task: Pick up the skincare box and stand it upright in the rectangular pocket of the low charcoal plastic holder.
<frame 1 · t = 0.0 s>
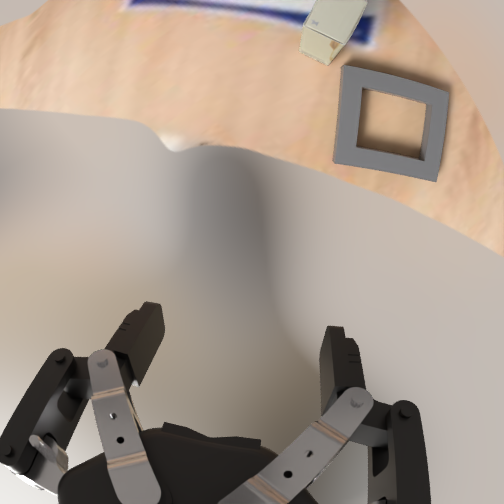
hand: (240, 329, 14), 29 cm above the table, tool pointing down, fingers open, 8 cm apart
skincare box: (323, 40, 30), on the table
holder: (391, 123, 34), on the table
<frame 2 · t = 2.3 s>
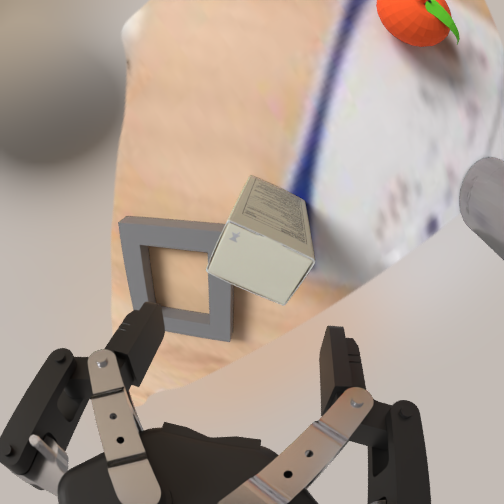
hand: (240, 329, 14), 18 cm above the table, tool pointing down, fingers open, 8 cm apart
clementine: (405, 24, 19), on the table
skincare box: (270, 204, 30), on the table
holder: (181, 277, 35), on the table
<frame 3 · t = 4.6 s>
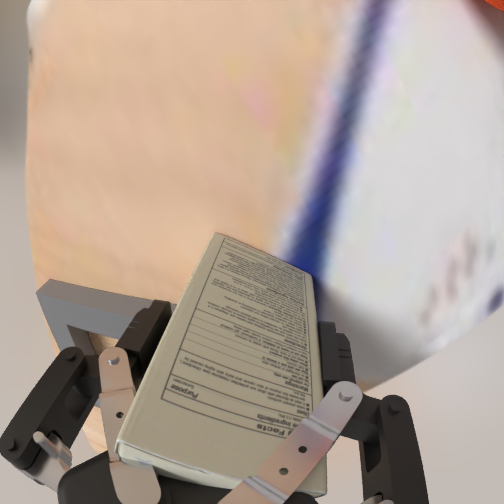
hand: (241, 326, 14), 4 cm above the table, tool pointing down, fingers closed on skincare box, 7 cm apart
skincare box: (252, 280, 18), on the table, touching gripper
holder: (131, 362, 23), on the table
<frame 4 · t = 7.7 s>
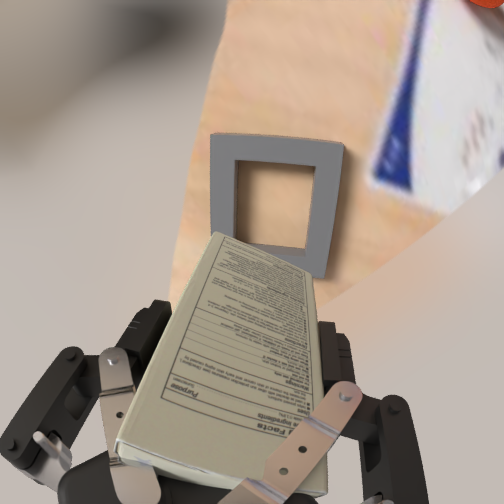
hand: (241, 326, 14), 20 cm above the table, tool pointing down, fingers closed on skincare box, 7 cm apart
skincare box: (252, 279, 18), point 16 cm above the table, touching gripper
holder: (273, 204, 32), on the table
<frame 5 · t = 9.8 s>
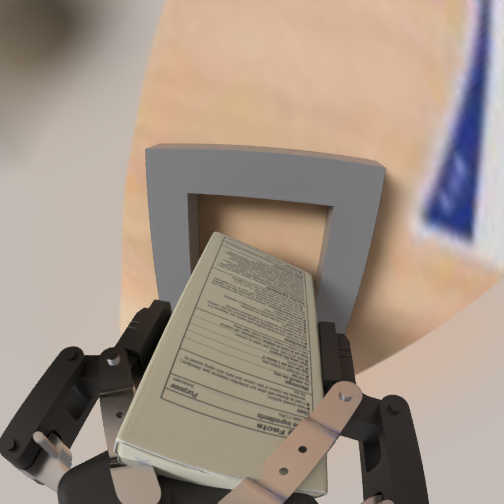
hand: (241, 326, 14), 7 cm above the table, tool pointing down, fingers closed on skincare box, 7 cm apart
skincare box: (252, 279, 18), point 2 cm above the table, touching gripper
holder: (257, 261, 20), on the table
when the fingers open (5 cm above the table, at t = 11.1 s): skincare box drops 1 cm, resting in holder.
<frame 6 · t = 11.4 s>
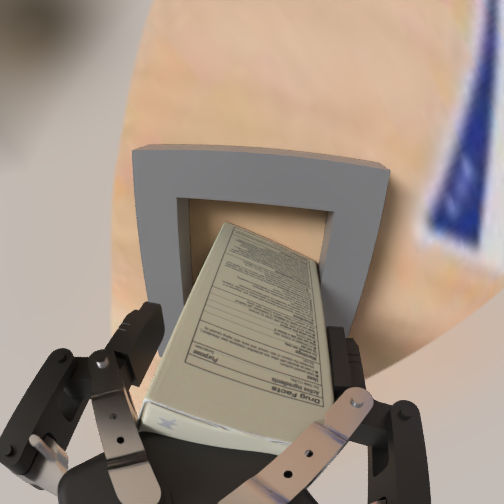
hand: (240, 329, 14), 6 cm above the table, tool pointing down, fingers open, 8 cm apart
skincare box: (260, 267, 19), resting in holder, touching gripper
holder: (252, 269, 19), on the table
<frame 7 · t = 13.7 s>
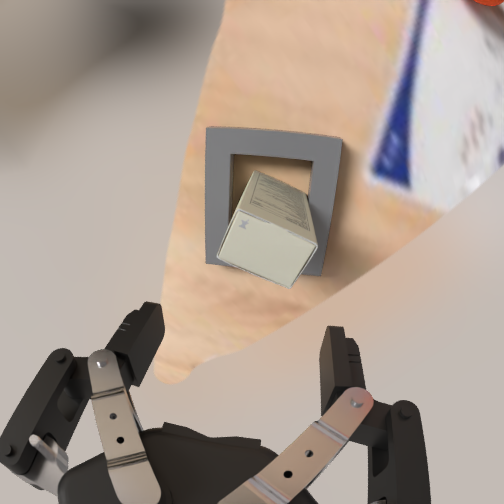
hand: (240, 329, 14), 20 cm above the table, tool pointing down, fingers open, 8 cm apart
skincare box: (274, 198, 32), resting in holder
holder: (269, 199, 31), on the table
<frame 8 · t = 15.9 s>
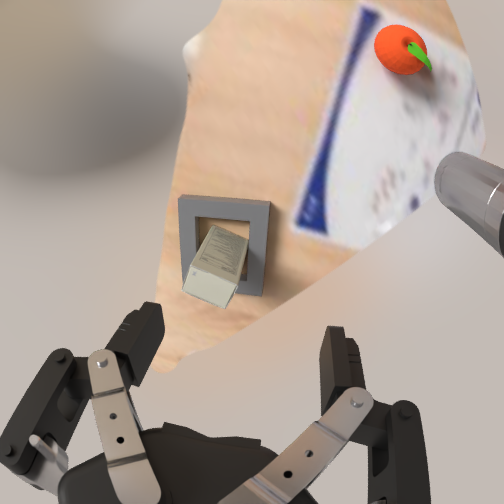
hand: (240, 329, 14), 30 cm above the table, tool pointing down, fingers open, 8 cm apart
clementine: (395, 56, 30), on the table
skincare box: (227, 243, 46), resting in holder
holder: (224, 244, 46), on the table
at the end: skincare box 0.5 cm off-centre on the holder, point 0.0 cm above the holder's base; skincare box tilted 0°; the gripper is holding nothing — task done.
